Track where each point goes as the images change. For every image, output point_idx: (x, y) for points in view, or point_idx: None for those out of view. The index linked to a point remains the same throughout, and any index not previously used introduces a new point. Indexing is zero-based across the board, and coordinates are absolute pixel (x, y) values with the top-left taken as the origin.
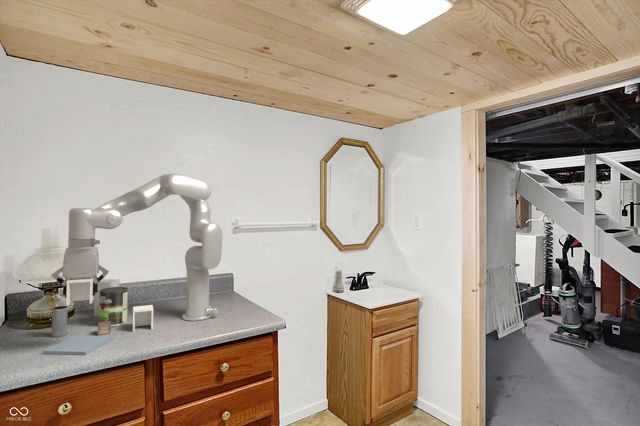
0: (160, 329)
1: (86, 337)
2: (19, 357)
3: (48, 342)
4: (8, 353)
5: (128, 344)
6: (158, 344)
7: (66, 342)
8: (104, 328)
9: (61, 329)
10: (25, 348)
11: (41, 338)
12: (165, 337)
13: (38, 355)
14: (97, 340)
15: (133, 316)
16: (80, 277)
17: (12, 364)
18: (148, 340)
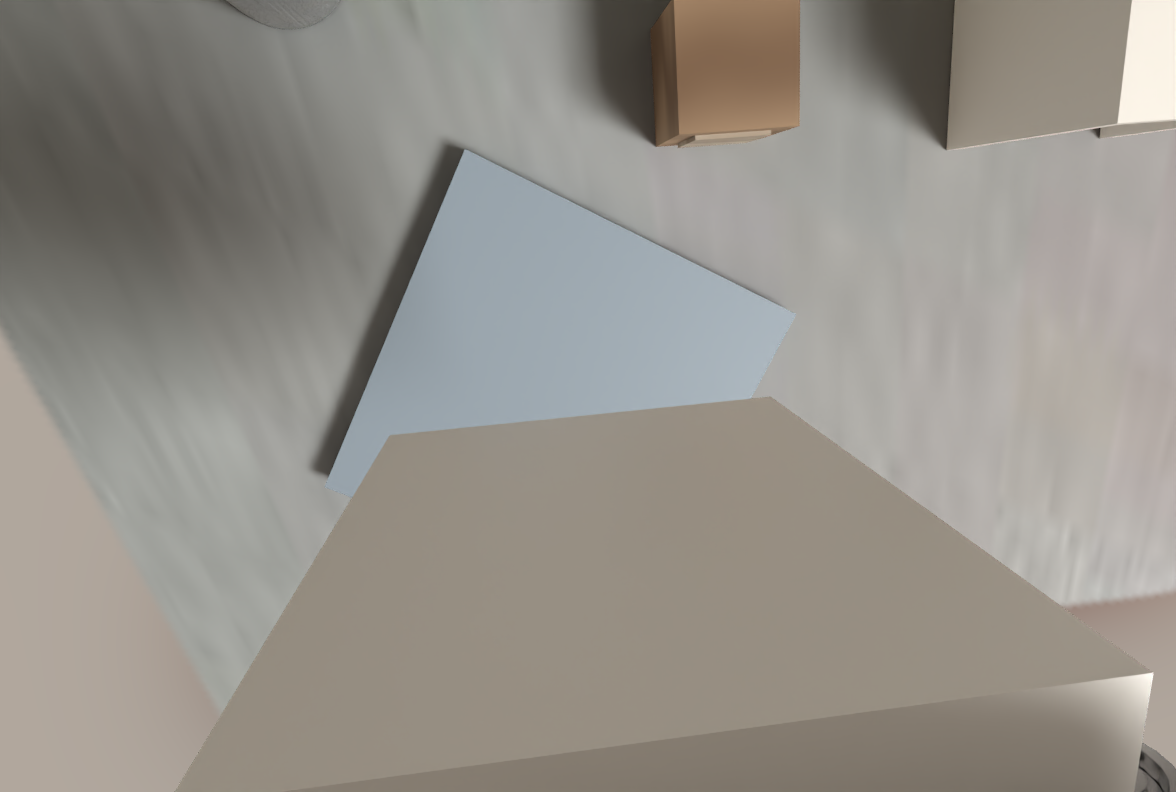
0: (1167, 173)
1: (583, 252)
2: (184, 492)
3: (262, 181)
4: (43, 368)
5: (896, 478)
6: (1080, 549)
7: (445, 336)
8: (730, 139)
9: (296, 1)
10: (125, 285)
11: (136, 5)
12: (1153, 414)
13: (310, 495)
14: (686, 378)
15: (1064, 132)
16: (619, 786)
17: (204, 613)
18: (1033, 439)
